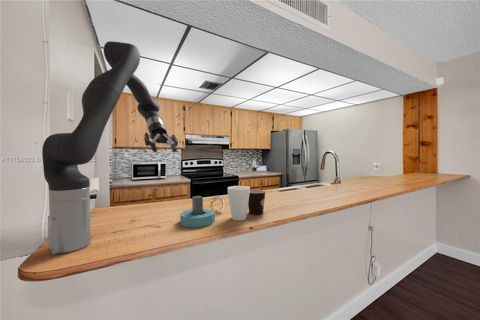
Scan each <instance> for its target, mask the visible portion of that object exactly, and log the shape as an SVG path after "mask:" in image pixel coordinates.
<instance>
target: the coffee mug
mask: <svg viewBox="0 0 480 320" xmlns="http://www.w3.org/2000/svg"><path fill="white" fill-rule="evenodd" d="M265 197H266V191H265V190H262V189H250V194H249V202H248V214H249V215H252V216H261V215H263V214H264V208H265V199H266V198H265Z"/></svg>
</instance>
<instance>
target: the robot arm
mask: <svg viewBox="0 0 480 320" xmlns="http://www.w3.org/2000/svg"><path fill="white" fill-rule="evenodd" d="M103 56H104V58H105V61H106V62H107V64H108V65H109V66H110V67H111V68H110V69H109V70H106V71H103V72H102V73H101V74H98V75H97V76H95V77H94V78H93V79H91V80H90V82H89V83H88V85H87V87H86V88H85V90H84V92H83V93H82V95H81V107H82V113H83V114H82V117H81V119H80V121H79V123H78V125H77V126H76V127H75V129H74V130H73V131H72V132H61V133H60V132H59V133H54V134H50V135H49V136H48V137H46V139H45V140H44V142H43V144H42V150H41V152H42V153H41V154H42V155H41V156H42V165H43V166H42V167H43V176H44V177H43V178H44V179H45V181H46V183H47V185H48V211H49V213H48V216H47V240H48V250H49V251H50V252H49V253H51V255H52V256H53V255H58V254H66V253H71V252H75V251H78V250H82V249H83V248H85V247H87V246H89V245H90V244H91V242H92V241H91V240H92V237H91V236H92V234H91V197H90V196H91V193H90V192H91V191H90V189H91V188H90V183H91V182H90V179H89V177H88V176H87V175H85V174H83V173H82V172H81V171H80V170H79V168H78V166H79V165H80V166H81V165H86V164H88V163H89V162H90V161H91V160H92V159H93V158H94V157H95V155H96V153H97V150H98V148H99V145H100V142H101V139H102V136H103V132H104V130H105V128H106V126H107V124H108V122H109V119H110V117H111V115H112V113H113V111H114V110H115V108H116V106H117V104H118V102H119V100H120V98H121V95H122V93H123V92H124V89H125V87H126V86H127V88H128V89H129V91H130V92H131V94H132V96H133V97H134V99H135V100H136V102H137V103H138V104H137V108H136V109H137V111H138V113H139V114H140V116H141V117H142V118H144V120H145V122H146V127H147V130H148V132H149V133H148V132H145V133H144V135H143V140H144V143H145V146H146V147H147V146H149V147H151V148H150V149H151V150H152V152H154V153H157V151H158V148H157V145H156V144H165V145H166V146H170V148H171V150H172V152H173V153H176V152H177V151H178V150H177V147H178V144H179V140H178V139H177V137H176V135H175V134H172V135H169V134H168V132H167V129H166V127H165V124H164V122H163V121H162V119H161V116H160V114H159V112H160V105H159V103H158V101H157V100H156V99H155V98H154V97H152V95H151V94H150V91H149V90H148V87H147V86H146V84H145V83H144V82H143V81H142V80H141V78H139V77H138V76H136V75H135V72H136V71H137V69H138V67H139V65H140V62H141V53H140V51H139V49H138V46H136V45H134V44H133V43H132V44H131V43H127V42H122V41H121V42H120V41H113V40H112V41H110V40H109V41H107V42H105V44H104V46H103ZM150 139H151V141H150Z"/></svg>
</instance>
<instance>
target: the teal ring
mask: <svg viewBox="0 0 480 320" xmlns="http://www.w3.org/2000/svg"><path fill="white" fill-rule="evenodd" d="M213 210H214V209H213ZM213 210H211V208H210V209H209V208H203V214H202V215H193V211H192V209H187V210H183V211H182V212H181V213H180V214H179V215H180V217H179V219H180V221H179V222H180V225H181V226H183V227H186V228H201V227H202V226H203V227H207V226H210V225H213V224H214V222H216V217H215V216H216V215H215V214H216V212H214V211H215V210H214V211H213Z"/></svg>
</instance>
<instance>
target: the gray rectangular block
mask: <svg viewBox="0 0 480 320" xmlns="http://www.w3.org/2000/svg"><path fill="white" fill-rule="evenodd" d="M191 198H192V201H191V202H192V211H193V215H202V214H203V209H204V207H203V205H204V202H203V201H204V200H203V199H204V198H203V196H201V195H196V196H192V197H191Z"/></svg>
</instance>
